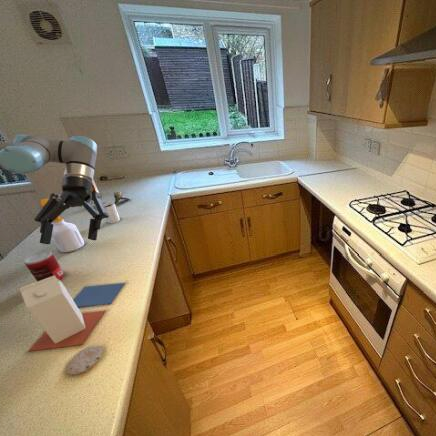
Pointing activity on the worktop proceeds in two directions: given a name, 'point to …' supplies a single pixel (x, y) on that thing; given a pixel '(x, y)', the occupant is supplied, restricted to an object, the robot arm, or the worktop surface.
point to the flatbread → (84, 359)
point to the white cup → (111, 213)
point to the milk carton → (53, 308)
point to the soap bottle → (65, 234)
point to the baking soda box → (94, 187)
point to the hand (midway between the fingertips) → (68, 241)
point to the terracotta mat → (74, 340)
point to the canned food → (43, 265)
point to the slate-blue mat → (97, 295)
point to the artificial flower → (116, 195)
